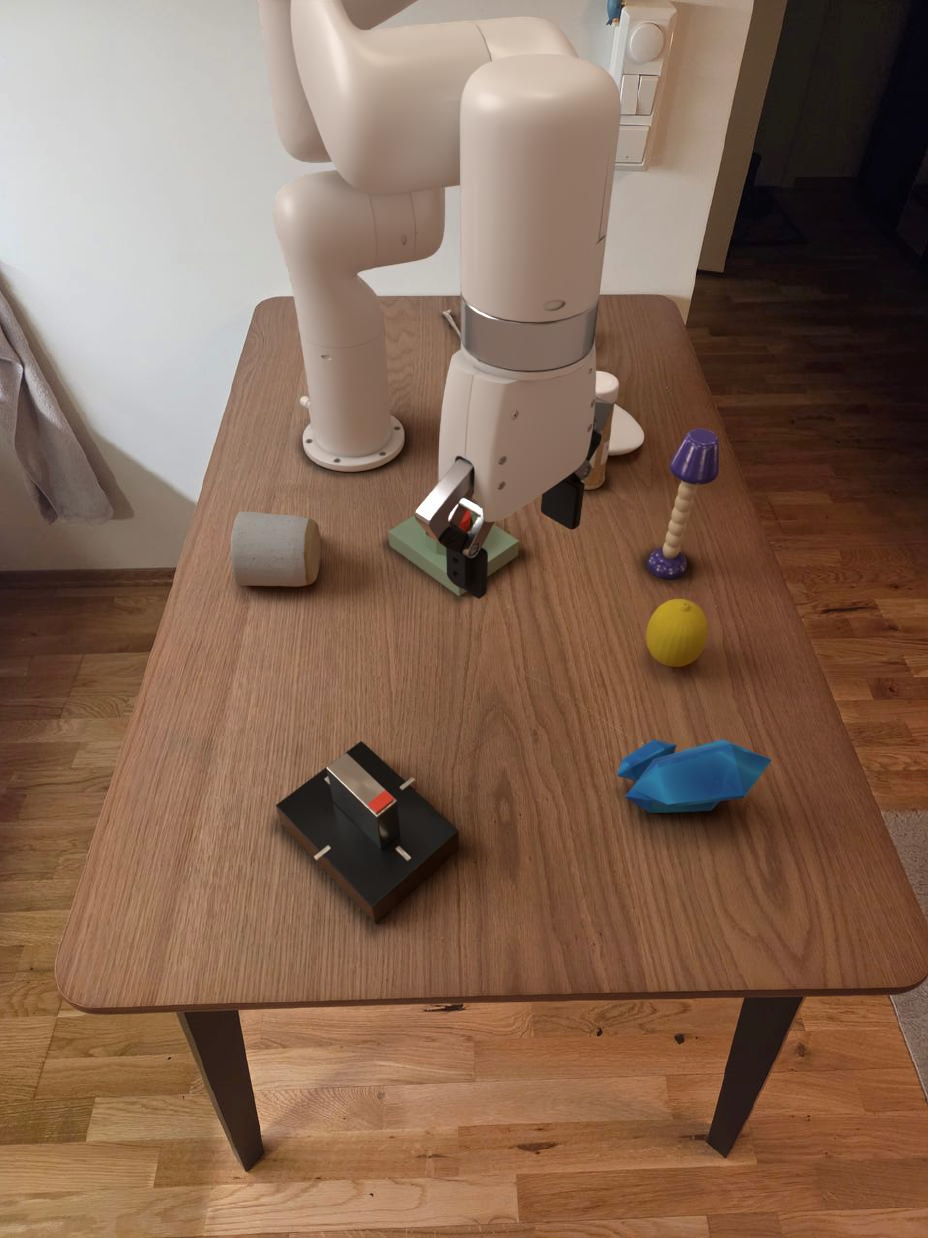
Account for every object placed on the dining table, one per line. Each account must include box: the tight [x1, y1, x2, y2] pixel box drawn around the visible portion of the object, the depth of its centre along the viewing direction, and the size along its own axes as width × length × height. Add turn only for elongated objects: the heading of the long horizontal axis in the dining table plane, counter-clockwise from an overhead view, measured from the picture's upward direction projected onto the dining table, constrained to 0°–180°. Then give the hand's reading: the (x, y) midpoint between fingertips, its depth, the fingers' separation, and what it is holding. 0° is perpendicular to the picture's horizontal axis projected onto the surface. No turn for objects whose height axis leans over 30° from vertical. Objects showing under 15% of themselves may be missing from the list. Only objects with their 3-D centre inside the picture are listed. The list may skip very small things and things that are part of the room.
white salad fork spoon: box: [608, 403, 645, 456], centre depth 114 cm, size 9×32×4 cm, turn 10°
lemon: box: [645, 598, 709, 668], centre depth 81 cm, size 6×6×8 cm
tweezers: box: [442, 309, 461, 340], centre depth 124 cm, size 18×5×2 cm, turn 11°
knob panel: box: [275, 740, 460, 925], centre depth 69 cm, size 12×10×3 cm
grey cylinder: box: [230, 510, 321, 587], centre depth 90 cm, size 11×8×8 cm
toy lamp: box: [646, 428, 720, 580], centre depth 86 cm, size 5×5×17 cm
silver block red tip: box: [325, 752, 400, 849], centre depth 66 cm, size 6×2×5 cm, turn 45°
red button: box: [459, 510, 470, 532], centre depth 91 cm, size 4×4×2 cm
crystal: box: [616, 738, 772, 814], centre depth 70 cm, size 7×9×12 cm
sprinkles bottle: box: [581, 370, 620, 491], centre depth 98 cm, size 5×5×14 cm
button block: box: [388, 511, 520, 597], centre depth 93 cm, size 11×9×4 cm
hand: (514, 551), depth 60 cm, fingers open, 9 cm apart
